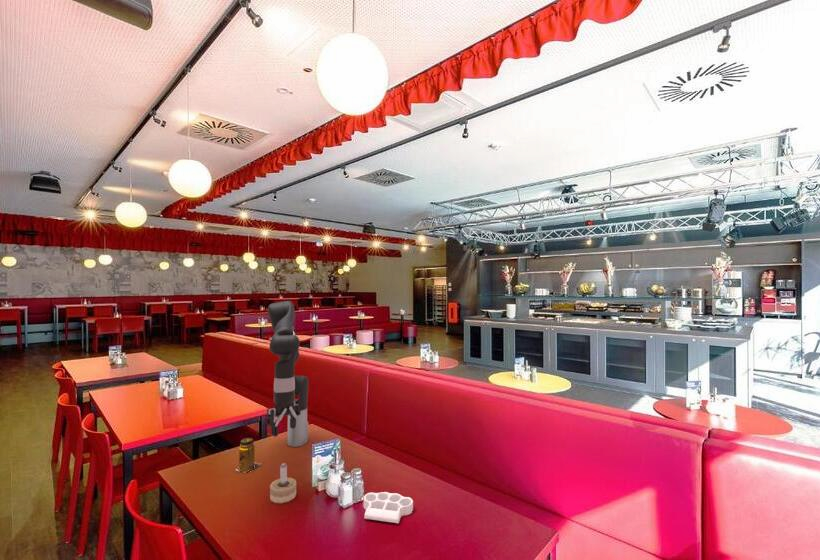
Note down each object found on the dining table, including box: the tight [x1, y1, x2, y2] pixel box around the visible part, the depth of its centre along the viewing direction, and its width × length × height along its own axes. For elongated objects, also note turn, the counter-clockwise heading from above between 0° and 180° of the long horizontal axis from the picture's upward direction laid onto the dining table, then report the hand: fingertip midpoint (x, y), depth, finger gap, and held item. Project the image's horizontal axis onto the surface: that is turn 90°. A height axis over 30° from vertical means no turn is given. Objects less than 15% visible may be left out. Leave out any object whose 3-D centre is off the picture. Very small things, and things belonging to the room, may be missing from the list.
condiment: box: [234, 437, 263, 472], centre depth 161 cm, size 7×8×12 cm
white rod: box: [279, 462, 288, 487], centre depth 140 cm, size 2×2×12 cm
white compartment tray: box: [363, 491, 414, 524], centre depth 132 cm, size 3×18×15 cm
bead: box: [269, 477, 297, 504], centre depth 140 cm, size 9×9×4 cm
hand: (284, 431), depth 140 cm, fingers open, 8 cm apart
